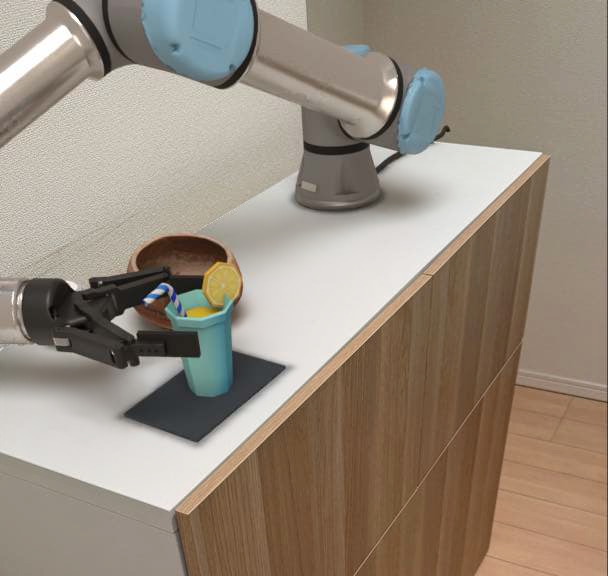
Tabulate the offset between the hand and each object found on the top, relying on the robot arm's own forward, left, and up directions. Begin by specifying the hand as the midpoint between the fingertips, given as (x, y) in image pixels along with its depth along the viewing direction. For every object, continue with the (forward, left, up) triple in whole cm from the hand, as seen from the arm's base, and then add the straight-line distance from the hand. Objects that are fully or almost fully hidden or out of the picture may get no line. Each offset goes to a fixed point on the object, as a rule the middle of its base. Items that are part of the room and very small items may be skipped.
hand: (212, 314), depth 87 cm
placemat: (+1, -2, -10) cm, 10 cm away
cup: (+1, -2, -10) cm, 10 cm away
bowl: (-13, -15, -10) cm, 23 cm away
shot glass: (-1, -27, -10) cm, 29 cm away
